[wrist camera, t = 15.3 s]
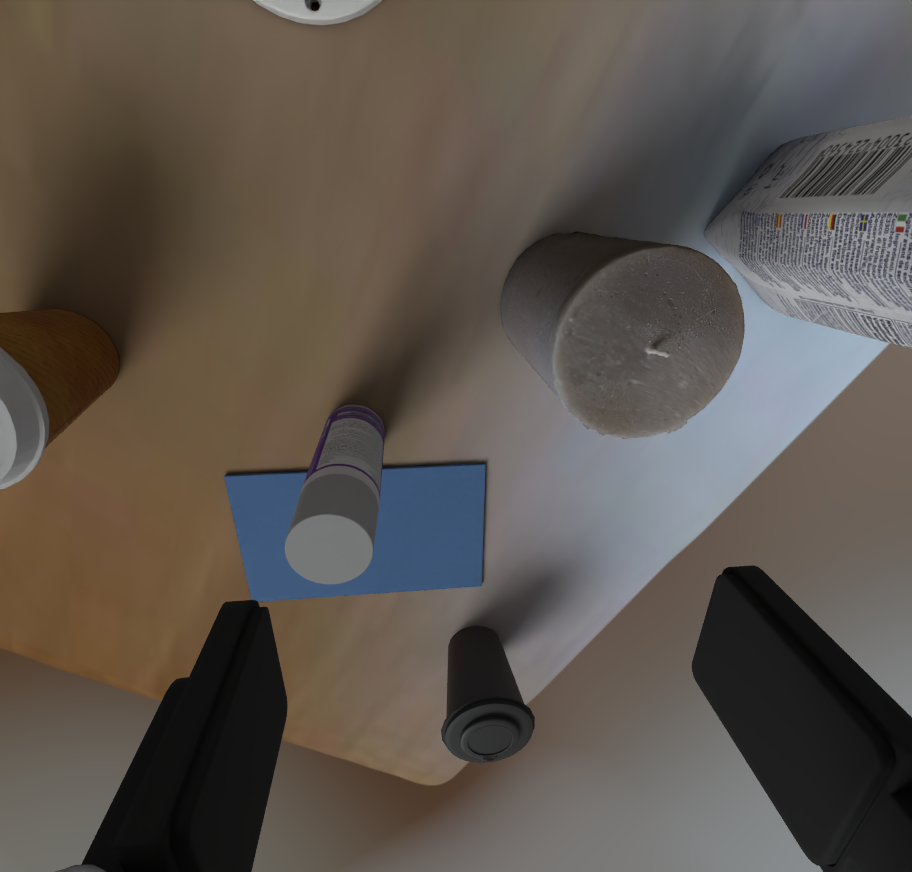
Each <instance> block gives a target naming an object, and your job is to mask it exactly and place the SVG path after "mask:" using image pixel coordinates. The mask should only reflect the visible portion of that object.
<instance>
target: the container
mask: <svg viewBox="0 0 912 872" xmlns="http://www.w3.org/2000/svg"><path fill="white" fill-rule="evenodd" d="M384 437H385V431H384V425H383V422H382V420H381V419H380V417H379V416H378V415H377V414H376V413H375V412H374V411H373V410H371V409H369V408H367V407H365V406H362V405H354V404H352V405H345V406H342V407H340V408H338V409H336V410H335V411H334V412H333V413H332V414H331V415H330V416H329V418H328V419H327V422H326V424H325V426H324V429H323V432H322V435H321V437H320V440H319V443H318V446H317V448H316V451H315V454H314V456H313V459H312V462H311V465H310V467H309V470H308V473H307V475H306V478H305V481H304V484H303V486H302V489H301V493H300V496H299V499H298V503H297V506H296V509H295V512H294V516H293V519H292V522H291V525H290V528H289V532H288V535H287V538H286V542H285V554H286V558H287V560H288V562H289V564H290V565H291V567H292V568H293V569H294V570H295V571H296V572H297V573H298V574H299V575H301V576H302V577H304V578H306V579H308V580H310V581H313V582H316V583H321V584H339V583H344V582H347V581H350V580H352V579H354V578H356V577H358V576H359V575H360V574H362V573H363V572H364V571H365V570H366V568H367V567H368V566H369V564H370V562H371V560H372V557H373V550H374V542H375V534H376V526H377V518H378V510H379V503H380V491H381V477H382V464H383V450H384Z"/></svg>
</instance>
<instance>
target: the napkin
mask: <svg viewBox="0 0 912 872" xmlns="http://www.w3.org/2000/svg"><path fill="white" fill-rule="evenodd" d="M485 469H486V464H485V463H476V464H454V465H432V466H410V467H388V468H382V477H381V491H380V503H379V510H378V518H377V526H376V534H375V542H374V550H373V557H372V560H371V562H370V564H369V566H368V567H367V568H366V570H365V571H364V572H363V573H362V574H360V575H359V576H358V577H356V578H354V579H352V580H350V581H347V582H344V583H339V584H321V583H316V582H313V581H310V580H308V579H306V578H304V577H302V576H301V575H299V574H298V573H297V572H296V571H295V570H294V569H293V568H292V567H291V565H290V564H289V562H288V560H287V558H286V554H285V542H286V538H287V535H288V532H289V528H290V525H291V522H292V519H293V516H294V512H295V509H296V506H297V503H298V499H299V496H300V493H301V489H302V486H303V484H304V481H305V478H306V475H307V473H308V471H300V472H278V473H255V474H233V475H225V476H224V478H225V483H226V487H227V492H228V496H229V501H230V505H231V510H232V514H233V518H234V523H235V527H236V532H237V536H238V541H239V545H240V550H241V554H242V559H243V563H244V568H245V572H246V577H247V581H248V586H249V590H250V594H251V599H252V600H257V602H259V601H274V600H288V599H303V598H317V597H331V596H346V595H360V594H375V593H389V592H404V591H418V590H432V589H447V588H461V587H476V586H482V561H483V530H484V499H485Z"/></svg>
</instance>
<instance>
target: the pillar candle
mask: <svg viewBox="0 0 912 872" xmlns="http://www.w3.org/2000/svg"><path fill="white" fill-rule="evenodd" d="M501 316H502V322H503V326H504V328H505V331H506V334H507V336H508V338H509V339H510V341H511V342H512V343H513V345H514V346H515V347H516V349H517V350H518V351H519V352H520V353H521V355H522V356H523V357H524V358H525V359H526V361H527V362H528V363H529V364H530V365H531V367H532V368H533V369H534V370H535V371H536V372H537V373H538V375H539V376H540V377H541V378H542V379H543V380H544V381H545V382H546V384H547V385H548V386H549V387H550V388H551V389H552V390H553V392H554V393H555V394H556V395H557V396H558V397H559V400H560V401H561V403H562V405H563V406H564V407H565V408H567V409H568V411H569V413H571V414H573V416H574V417H575V418H577V419H578V420H579V421H580V422H581V423H582V424H583V425H584V426H585V427H586V428H587V429H589V428H592V429H594V430H596V431H597V433H599V434H602V435H608V436H613V437H621V438H622V439H628V438H639V437H650V436H653V435H657V434H660V433H663V432H667V433H670V432H672V431H676V430H678V429H679V428H681V427H682V426H683V425H685V424H686V423H687V420H688V419H690V418H692V417H693V416H695V415H696V414H697V413H698V412H699V411H701V410H702V409H704V408H705V406H706V405H707V404H709V403H710V402H711V401H712V399H713V398H714V397H715V396H716V395H717V394H718V393H719V392H720V390H721V389H722V388H723V386H724V385H725V383H726V382H727V380H728V378H729V377H730V375H731V373H732V371H733V369H734V367H735V366H736V364H737V362H738V359H739V357H740V354H741V348H742V344H743V338H744V313H743V308H742V300H741V297H740V295H739V293H738V290H737V286H736V284H735V283H734V282H733V280H732V279H731V277H730V276H729V275H728V274H727V273H726V272H725V270H724V269H723V268H722V267H721V266H720V265H719V264H718V263H717V262H715V261H714V260H713V259H711V258H709V257H708V256H706V255H705V254H703V253H701V252H699V251H697V250H694V249H692V248H689V247H684V246H679V245H671V244H662V243H656V242H650V241H637V240H630V239H625V238H618V237H612V238H610V237H603V236H599V235H596V234H587V233H582V232H574V233H571V234H561V233H560V234H553V235H551V236H548V237H546V238H544V239H542V240H540V241H538V242H536V243H535V244H534V245H532V246H531V247H530V248H528V249H527V250H526V251H525V252H524V253H523V254H522V255H521V256H520V257H519V258H518V259H517V261H516V262H515V264H514V265H513V267H512V268H511V270H510V271H509V274H508V276H507V278H506V280H505V283H504V287H503V291H502V296H501Z"/></svg>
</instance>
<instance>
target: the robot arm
mask: <svg viewBox="0 0 912 872" xmlns="http://www.w3.org/2000/svg"><path fill="white" fill-rule="evenodd" d="M253 1H255V2H256V3H257V4H258V5H260V6H262V7H264V8H266V9H267V10H269V11H271V12H273V13H274V14H276V15H278V16H280V17H283V18H286V19H289V20H292V21H295V22H298V23H302V24H312V25H330V24H337V23H344V22H346V21H349V20H351V19H354V18H356V17H359V16H361V15H363V14H365V13H366V12H368V11H369V10H371V9H372V8H373V7H375V6H376V5H378V4H379V3H380V2H381V1H382V0H253ZM313 2H317V3H319V5H320V7H319V10H318V11H313V10H312V9H311V5H312V3H313ZM692 672H693V675H694V678H695V680H696V682H697V684H698V685H699V687H700V689H701V690H702V692H703V693H704V695H705V697H706V698H707V700H708V701H709V703H710V705H711V706H712V708H713V709H714V711H715V712H716V714H717V715H718V717H719V719H720V720H721V722H722V724H723V725H724V727H725V728H726V729H727V731H728V733H729V735H730V736H731V738H732V739H733V741H734V743H735V744H736V746H737V747H738V749H739V751H740V752H741V754H742V755H743V757H744V758H745V760H746V762H747V763H748V765H749V766H750V768H751V769H752V771H753V773H754V774H755V776H756V777H757V779H758V781H759V782H760V784H761V785H762V787H763V789H764V790H765V792H766V793H767V795H768V796H769V798H770V799H771V801H772V803H773V804H774V806H775V808H776V809H777V811H778V812H779V814H780V815H781V817H782V819H783V820H784V822H785V823H786V825H787V826H788V828H789V830H790V831H791V833H792V835H793V836H794V837H795V839H796V841H797V842H798V844H799V846H800V847H801V849H802V850H803V852H804V853H805V855H806V856H807V857H808V859H810V861H811V862H812V863H814V864H816V865H819V866H820V867H821V869H822V870H823V872H912V717H911V716H910V715H909V714H907V712H906V711H905V710H904V709H903V708H901V706H899V705H898V703H897V702H895V701H894V700H893V699H892V698H891V697H890V696H889V695H888V694H887V693H886V692H885V691H884V690H883V689H882V688H881V687H880V686H879V685H878V684H877V683H876V682H875V681H874V680H873V679H872V678H871V677H870V676H869V675H868V674H867V673H866V672H865V671H864V670H863V669H862V668H861V667H860V666H859V665H858V664H857V663H856V662H855V661H854V660H853V659H852V658H851V657H850V656H849V655H848V654H847V653H846V652H845V651H844V650H843V649H842V648H841V647H840V646H839V645H838V644H837V643H836V642H835V641H834V640H833V639H832V638H831V637H830V636H828V635H827V634H826V632H825V631H823V630H822V629H821V628H820V627H819V626H818V625H817V624H816V623H815V622H814V621H813V620H812V619H811V618H810V617H809V616H808V615H807V614H806V613H805V612H804V611H803V610H802V609H801V608H800V607H799V606H798V605H797V604H796V603H795V602H794V601H793V600H792V599H791V598H790V597H789V596H788V595H787V594H786V593H785V592H784V591H783V590H782V589H781V588H780V587H779V586H778V585H777V584H776V583H775V582H774V581H773V580H772V579H771V578H770V577H769V576H768V575H767V574H766V573H765V572H764V571H763V570H761V569H760V568H759V567H756V566H739V567H728V568H726V569H724V571H723V573H722V575H719V576H718V577H717V579H716V582H715V585H714V588H713V592H712V595H711V599H710V602H709V606H708V609H707V613H706V616H705V620H704V623H703V627H702V630H701V633H700V637H699V641H698V644H697V647H696V651H695V655H694V658H693V661H692ZM286 717H287V696H286V692H285V687H284V682H283V677H282V672H281V667H280V663H279V658H278V653H277V648H276V643H275V638H274V634H273V629H272V624H271V619H270V614H269V610H268V608H267V607H259V603H258V602H257V600H246V601H232V602H225V603H224V604H223V605H222V607H221V609H220V611H219V613H218V615H217V618H216V620H215V622H214V624H213V626H212V629H211V631H210V633H209V635H208V637H207V640H206V642H205V644H204V646H203V648H202V650H201V653H200V655H199V657H198V659H197V661H196V664H195V666H194V668H193V670H192V672H191V674H190V677H188V678H179V679H176V680H175V681H174V682H173V683H172V684H171V685H170V687H169V689H168V690H167V692H166V694H165V696H164V698H163V700H162V702H161V704H160V706H159V708H158V710H157V712H156V714H155V716H154V718H153V720H152V722H151V724H150V726H149V728H148V730H147V732H146V734H145V736H144V738H143V741H142V742H141V744H140V747H139V748H138V750H137V753H136V755H135V757H134V759H133V761H132V763H131V765H130V767H129V769H128V771H127V773H126V775H125V777H124V779H123V781H122V783H121V785H120V787H119V789H118V791H117V794H116V795H115V797H114V799H113V802H112V803H111V805H110V807H109V810H108V812H107V814H106V816H105V818H104V820H103V822H102V824H101V826H100V828H99V830H98V832H97V834H96V836H95V838H94V840H93V842H92V844H91V846H90V848H89V850H88V852H87V854H86V856H85V858H84V860H83V862H82V864H81V865H74V866H71V867H68V868H65V869H62V870H59V871H56V872H251V871H252V867H253V862H254V858H255V853H256V849H257V845H258V840H259V835H260V831H261V827H262V823H263V818H264V814H265V809H266V805H267V801H268V796H269V792H270V788H271V783H272V779H273V774H274V770H275V765H276V761H277V757H278V752H279V748H280V744H281V739H282V735H283V731H284V726H285V722H286Z"/></svg>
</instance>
